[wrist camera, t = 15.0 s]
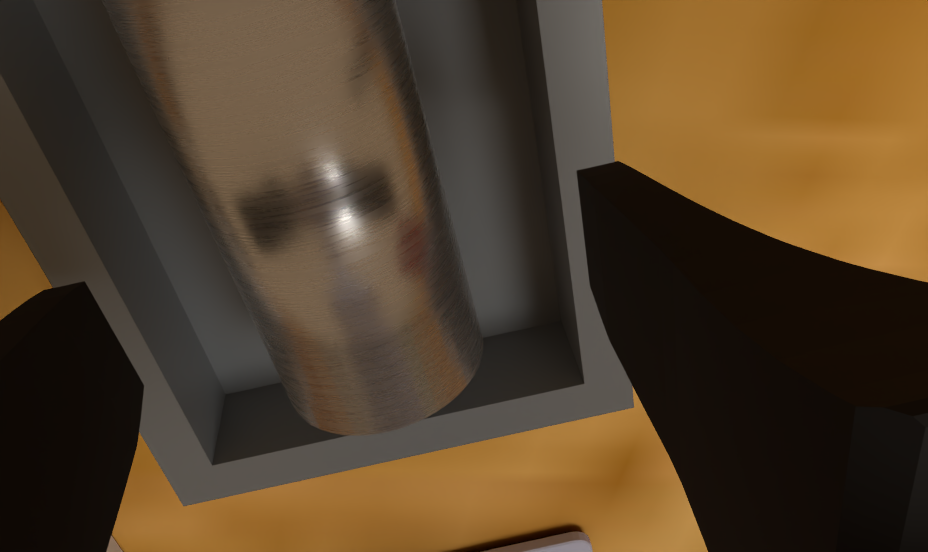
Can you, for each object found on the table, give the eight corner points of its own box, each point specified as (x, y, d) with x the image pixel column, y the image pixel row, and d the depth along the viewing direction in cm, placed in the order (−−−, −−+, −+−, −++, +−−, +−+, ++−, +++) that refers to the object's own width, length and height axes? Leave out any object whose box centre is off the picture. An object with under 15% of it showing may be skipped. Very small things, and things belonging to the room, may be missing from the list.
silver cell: (515, 310, 16) (424, 456, 13) (356, 288, 18) (248, 413, 15) (411, -153, 11) (238, -71, 9) (209, -116, 13) (13, -39, 10)
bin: (597, 323, 20) (633, 407, 17) (204, 410, 20) (183, 506, 17) (528, -325, 12) (574, -344, 10) (-103, -185, 12) (-219, -168, 10)
